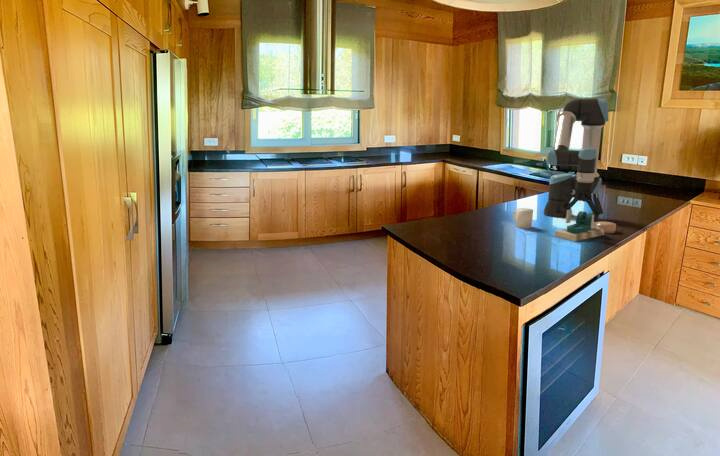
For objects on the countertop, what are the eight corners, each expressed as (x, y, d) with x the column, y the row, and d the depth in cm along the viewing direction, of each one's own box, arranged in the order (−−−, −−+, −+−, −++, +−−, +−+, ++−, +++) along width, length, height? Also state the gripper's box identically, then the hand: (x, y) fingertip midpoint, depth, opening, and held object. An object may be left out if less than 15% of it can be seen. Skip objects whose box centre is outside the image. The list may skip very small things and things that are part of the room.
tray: (583, 230, 251) (584, 224, 250) (603, 234, 242) (604, 229, 241) (554, 236, 240) (555, 230, 239) (574, 241, 231) (575, 235, 230)
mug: (518, 223, 267) (519, 206, 265) (534, 227, 258) (536, 210, 256) (508, 225, 263) (509, 208, 261) (524, 229, 254) (525, 211, 252)
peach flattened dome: (602, 228, 256) (603, 220, 255) (618, 232, 248) (619, 224, 247) (591, 230, 251) (592, 222, 250) (608, 234, 244) (609, 226, 243)
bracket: (581, 225, 249) (583, 210, 247) (595, 228, 244) (597, 212, 242) (564, 231, 237) (565, 215, 235) (577, 234, 232) (579, 217, 230)
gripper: (557, 178, 243) (553, 221, 248) (604, 185, 223) (599, 231, 228) (567, 177, 247) (563, 219, 252) (614, 184, 226) (609, 229, 232)
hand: (580, 225), depth 240 cm, fingers open, 13 cm apart
